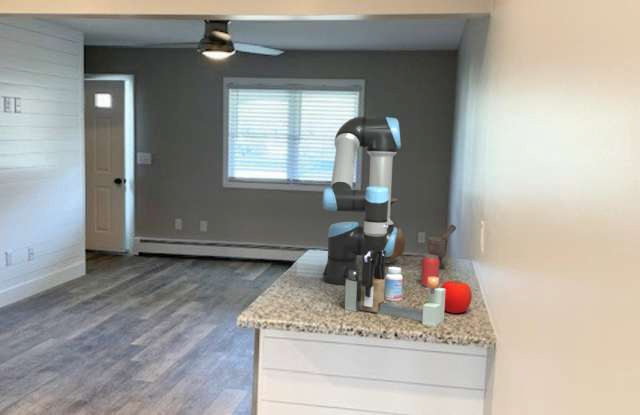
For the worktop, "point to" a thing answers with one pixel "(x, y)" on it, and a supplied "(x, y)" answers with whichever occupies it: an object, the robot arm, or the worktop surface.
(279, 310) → the worktop surface
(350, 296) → the rail
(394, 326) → the worktop surface
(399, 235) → the vase
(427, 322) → the pale stepped block
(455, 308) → the tomato
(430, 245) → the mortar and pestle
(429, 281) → the cylinder
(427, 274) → the beer can
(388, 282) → the pill bottle
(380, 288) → the block
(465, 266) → the worktop surface
